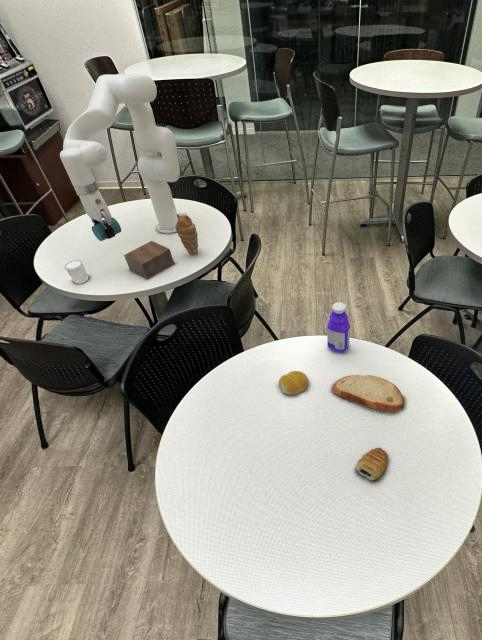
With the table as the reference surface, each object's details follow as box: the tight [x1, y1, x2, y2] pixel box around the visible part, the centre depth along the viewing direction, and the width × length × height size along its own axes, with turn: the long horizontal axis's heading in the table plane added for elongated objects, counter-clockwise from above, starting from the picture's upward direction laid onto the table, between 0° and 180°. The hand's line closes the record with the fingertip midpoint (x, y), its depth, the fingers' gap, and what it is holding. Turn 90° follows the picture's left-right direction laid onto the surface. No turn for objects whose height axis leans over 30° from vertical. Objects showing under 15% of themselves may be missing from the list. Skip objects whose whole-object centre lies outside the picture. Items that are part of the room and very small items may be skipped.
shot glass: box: [64, 259, 89, 284], centre depth 171 cm, size 7×7×7 cm
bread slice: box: [332, 374, 405, 412], centre depth 126 cm, size 18×18×4 cm
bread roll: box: [278, 370, 309, 396], centre depth 130 cm, size 8×9×4 cm
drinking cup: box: [91, 216, 122, 242], centre depth 162 cm, size 8×6×6 cm
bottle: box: [326, 302, 351, 354], centre depth 135 cm, size 7×6×17 cm
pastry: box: [354, 447, 389, 481], centre depth 110 cm, size 9×7×4 cm
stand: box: [123, 240, 175, 280], centre depth 176 cm, size 14×12×7 cm
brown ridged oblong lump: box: [175, 213, 199, 256], centre depth 178 cm, size 9×8×18 cm
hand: (106, 234), depth 163 cm, fingers closed on drinking cup, 5 cm apart
